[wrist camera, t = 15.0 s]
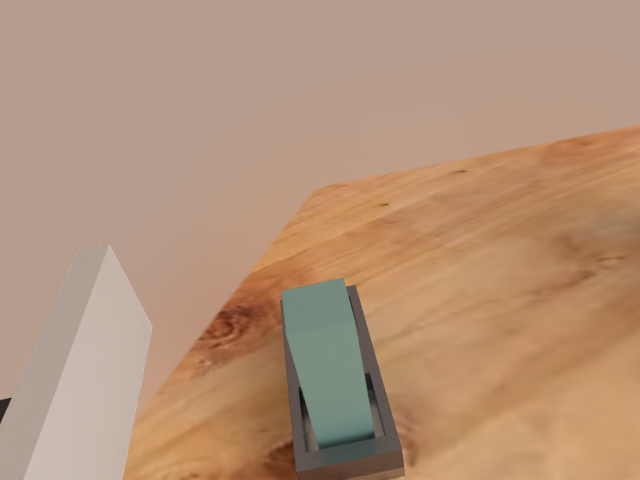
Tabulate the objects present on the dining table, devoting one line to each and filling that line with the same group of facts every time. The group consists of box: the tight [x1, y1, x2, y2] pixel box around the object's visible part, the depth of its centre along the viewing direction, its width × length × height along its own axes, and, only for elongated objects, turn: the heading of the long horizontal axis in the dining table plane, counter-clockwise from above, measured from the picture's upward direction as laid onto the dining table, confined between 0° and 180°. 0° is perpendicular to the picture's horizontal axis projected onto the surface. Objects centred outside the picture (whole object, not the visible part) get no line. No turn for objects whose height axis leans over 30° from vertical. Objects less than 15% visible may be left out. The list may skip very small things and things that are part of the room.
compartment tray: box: [280, 285, 405, 480], centre depth 42 cm, size 17×7×3 cm, turn 7°
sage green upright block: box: [282, 278, 375, 450], centre depth 35 cm, size 4×4×12 cm
